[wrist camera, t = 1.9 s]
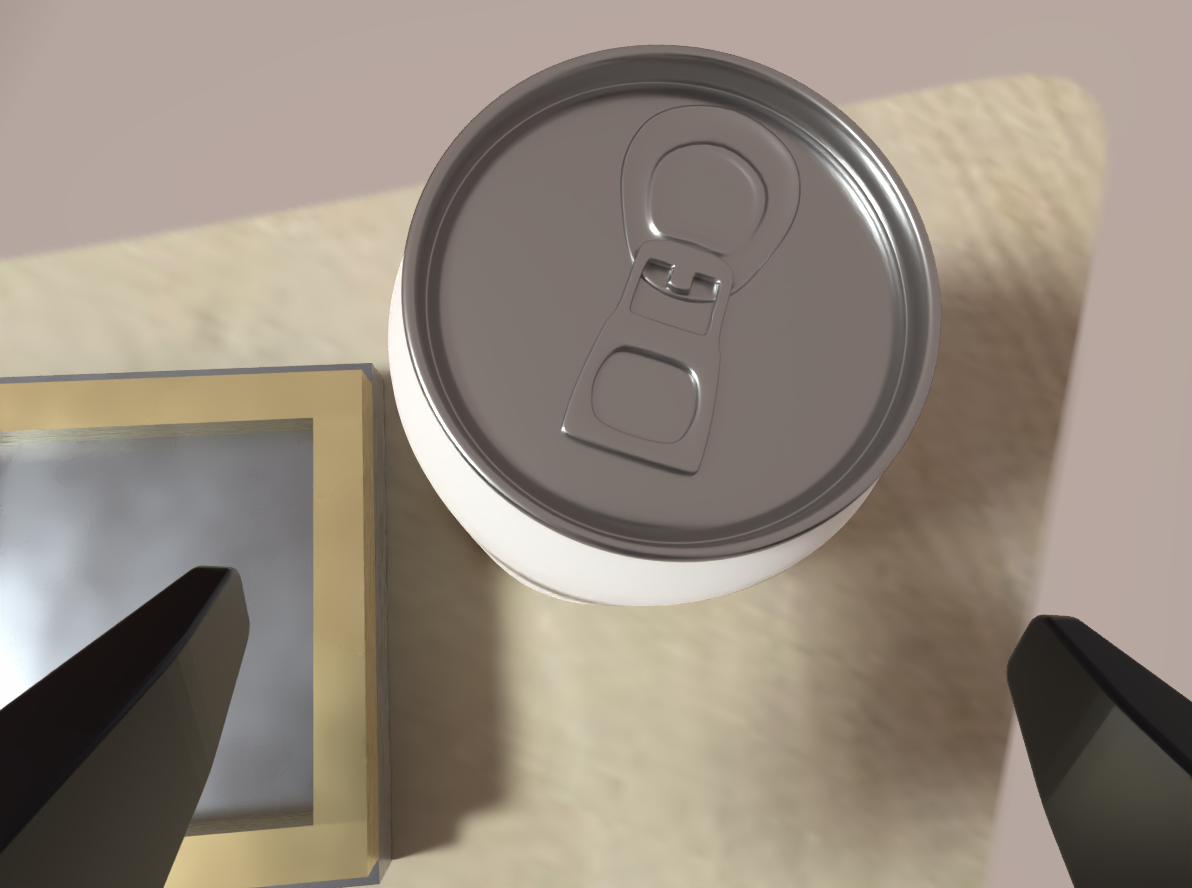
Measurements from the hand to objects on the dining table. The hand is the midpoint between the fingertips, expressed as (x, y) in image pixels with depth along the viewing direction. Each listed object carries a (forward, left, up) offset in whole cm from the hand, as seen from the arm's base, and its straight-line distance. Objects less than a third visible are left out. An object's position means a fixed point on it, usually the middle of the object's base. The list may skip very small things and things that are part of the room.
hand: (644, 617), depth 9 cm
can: (+3, 0, -11) cm, 11 cm away
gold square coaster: (0, +10, -10) cm, 14 cm away
